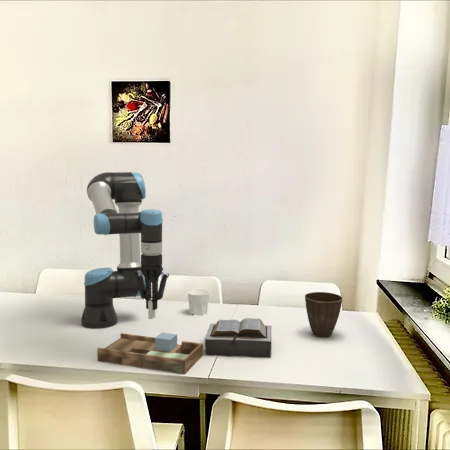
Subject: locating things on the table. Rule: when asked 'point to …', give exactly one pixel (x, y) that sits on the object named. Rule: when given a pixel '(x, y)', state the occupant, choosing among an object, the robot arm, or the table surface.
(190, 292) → the cup
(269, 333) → the bible
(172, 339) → the block
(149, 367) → the wooden tray
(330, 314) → the plant pot
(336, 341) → the table surface
